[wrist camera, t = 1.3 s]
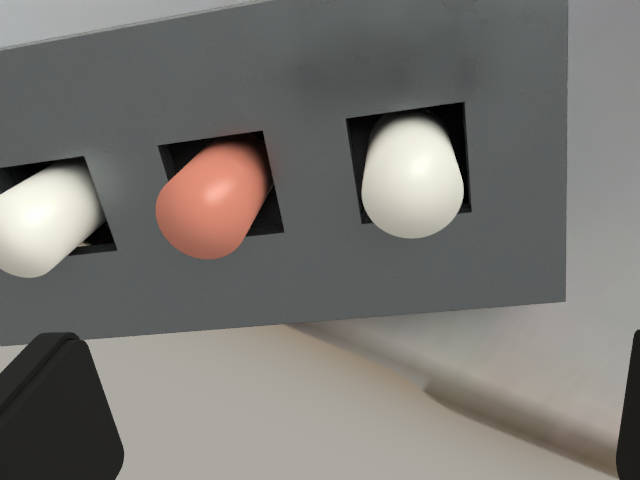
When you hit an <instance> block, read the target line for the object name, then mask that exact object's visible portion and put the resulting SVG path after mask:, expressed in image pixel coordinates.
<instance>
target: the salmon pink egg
mask: <svg viewBox="0 0 640 480" xmlns="http://www.w3.org/2000/svg"><path fill="white" fill-rule="evenodd" d="M273 185H274V181H273V176H272V171H271V167H270V162H269V157H268V153H267V148H266V143H265V142H264V141H262V140H261V139H260V138H258V137H257V136H255V135H253V134H251V133H241V134H234V135H227V136H220V137H215V138H214V139H213V140H212V141H211V142H209V143H208V144H207V145H206V146H205V147H204V148H203V149H202V150H201V151H200V152H199V153H198V154H197V155H196V156H195V157H194V158H193V159H192V160H191V161H190V162H189V163H188V164H187V165H185V166H184V167H183V168H182V169H181V170H180V171H179V172H178V173H177V174H176V175H175V176H174V177H173V178H172V179H171V180H170V181H169V182H168V183H167V184H166V185H165V186H164V187H163V188H162V190H161V191H160V193H159V195H158V198H157V202H156V219H157V223H158V225H159V228H160V230H161V232H162V234H163V235H164V236H165V238H166V239H167V240H168V241H169V243H170V244H172V245H173V246H174V247H175V248H176V249H178V250H179V251H181V252H182V253H184V254H186V255H189V256H191V257H194V258H199V259H217V258H221V257H224V256H226V255H228V254H230V253H232V252H233V251H234V250H235V249H237V248H238V246H239V245H240V244H241V242H242V241H243V239H244V237H245V236H246V234H247V232H248V230H249V228H250V227H251V225H252V223H253V221H254V219H255V217H256V216H257V214H258V212H259V210H260V208H261V207H262V205H263V203H264V201H265V199H266V198H267V196H268V194H269V192H270V190H271V189H272V187H273Z"/></svg>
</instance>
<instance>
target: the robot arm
mask: <svg viewBox="0 0 640 480" xmlns="http://www.w3.org/2000/svg"><path fill="white" fill-rule="evenodd" d="M123 460H124V449H123V445H122V442H121V440H120V437H119V434H118V431H117V428H116V425H115V422H114V419H113V417H112V414H111V411H110V408H109V405H108V402H107V399H106V396H105V394H104V390H103V388H102V385H101V382H100V379H99V376H98V373H97V370H96V368H95V364H94V362H93V359H92V356H91V353H90V350H89V347H88V345H87V343H86V342H85V341H83V340H80V339H79V337H78V336H77V335H76V334H75V333H72V332H50V333H41V334H39V335H38V336H36V337H35V338H34V339H33V340H32V341H31V342H30V343H29V344H28V345H27V346H26V347H25V349H23V350H22V351H21V353H20V354H19V355H18V356H17V357H16V358H15V359H14V360H13V361H12V362H11V363H10V364H9V365H8V366H7V367H6V368H5V369H4V370H3V371H2V372H1V373H0V480H115V479H116V477H117V475H118V474H119V472H120V470H121V468H122V464H123ZM616 465H617V472H618V476H619V479H620V480H640V330H637V331H636V332H635V334H634V338H633V345H632V351H631V358H630V365H629V372H628V379H627V385H626V392H625V399H624V406H623V412H622V419H621V426H620V433H619V439H618V446H617V453H616Z"/></svg>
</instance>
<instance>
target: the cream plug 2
mask: <svg viewBox="0 0 640 480" xmlns="http://www.w3.org/2000/svg"><path fill="white" fill-rule="evenodd" d="M463 194H464V187H463V180H462V177H461V174H460V170H459V167H458V164H457V161H456V157H455V154H454V151H453V148H452V145H451V141H450V138H449V135H448V132H447V129H446V127H445V125H444V123H443V122H442V120H441V119H440V118H439V117H438V116H437V115H436V114H435V113H433V112H432V111H430V110H428V109H426V108H416V109H409V110H402V111H395V112H388V113H385V114H384V115H383V116H382V117H381V118H380V119H379V120H378V121H377V122H376V124H375V125H374V127H373V129H372V131H371V134H370V138H369V143H368V150H367V157H366V163H365V170H364V176H363V183H362V201H363V205H364V208H365V211H366V212H367V214H368V216H369V217H370V219H371V220H372V221H373V222H374V223H375V225H376V226H378V227H379V228H380V229H382V230H383V231H385V232H386V233H389V234H391V235H393V236H397V237H401V238H409V239H413V238H422V237H426V236H430V235H432V234H434V233H437V232H438V231H440V230H442V229H443V228H444V227H446V226H447V225H448V224H449V223H450V222H451V221H452V220H453V219H454V217H455V216H456V214H457V213H458V211H459V209H460V207H461V204H462V200H463Z"/></svg>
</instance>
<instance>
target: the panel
mask: <svg viewBox="0 0 640 480" xmlns="http://www.w3.org/2000/svg"><path fill="white" fill-rule="evenodd" d="M567 64H568V0H257V1H252V2H247V3H241V4H236V5H230V6H225V7H220V8H214V9H209V10H203V11H198V12H193V13H187V14H182V15H176V16H171V17H166V18H160V19H155V20H149V21H144V22H139V23H133V24H128V25H122V26H117V27H112V28H106V29H101V30H96V31H90V32H85V33H79V34H74V35H69V36H63V37H58V38H52V39H47V40H42V41H36V42H31V43H25V44H20V45H15V46H9V47H4V48H0V194H2V193H4V192H5V191H7V190H9V189H11V188H12V187H14V186H16V185H17V184H19V183H21V182H23V181H24V180H26V179H28V178H29V177H31V174H30V172H29V169H28V167H27V164H31V163H38V162H45V161H52V160H59V159H66V158H73V157H80V156H84V157H85V160H86V162H87V165H88V168H89V171H90V174H91V176H92V179H93V182H94V185H95V188H96V191H97V193H98V196H99V199H100V202H101V205H102V208H103V210H104V213H105V216H106V219H107V222H108V225H109V227H110V230H111V233H112V236H113V239H114V242H115V243H108V244H99V245H90V246H81V247H76V248H75V249H74V250H73V251H72V252H70V253H69V254H68V255H67V256H66V257H65V258H64V259H63V260H61V261H60V262H59V263H58V264H57V265H56V266H55V267H54V268H52V269H51V270H50V271H49V272H47V273H46V274H44V275H42V276H39V277H34V278H24V277H18V276H15V275H11V274H9V273H7V272H5V271H3V270H1V269H0V345H1V346H11V345H24V344H29V343H30V342H31V341H32V340H33V339H34V338H35V337H36V336H38V335H39V334H41V333H50V332H72V333H75V334H76V335H77V336H78V337H79V339H80V340H87V339H99V338H112V337H125V336H138V335H150V334H163V333H175V332H188V331H201V330H213V329H226V328H239V327H252V326H264V325H277V324H290V323H302V322H315V321H327V320H340V319H353V318H365V317H378V316H391V315H403V314H416V313H429V312H441V311H454V310H467V309H479V308H492V307H504V306H517V305H530V304H542V303H555V302H566V184H567ZM458 102H462V105H463V120H464V135H465V150H466V164H467V179H468V194H469V203H467V204H461V207H460V209H459V211H458V213H457V214H456V216H455V217H454V219H453V220H452V221H451V222H450V223H449V224H448V225H447V226H446V227H444V228H443V229H442V230H440V231H438V232H437V233H434V234H432V235H430V236H426V237H422V238H413V239H409V238H401V237H397V236H393V235H391V234H389V233H386V232H385V231H383V230H382V229H380V228H379V227H378V226H376V225H375V223H374V222H373V221H372V220H371V219H370V217H369V216H368V215H363V213H362V207H361V200H360V193H359V187H358V180H357V174H356V167H355V160H354V154H353V147H352V141H351V134H350V127H349V121H348V118H353V117H360V116H367V115H374V114H381V113H388V112H395V111H402V110H409V109H416V108H423V107H430V106H437V105H444V104H451V103H458ZM262 130H263V134H264V139H265V143H266V148H267V153H268V157H269V162H270V167H271V171H272V176H273V181H274V185H275V190H276V194H277V199H278V204H279V208H280V213H281V218H282V222H283V224H279V225H270V226H261V227H252V228H249V230H248V232H247V234H246V236H245V237H244V239H243V241H242V242H241V244H240V245H239V246H238V248H237V249H235V250H234V251H233V252H232V253H230V254H228V255H226V256H224V257H221V258H217V259H199V258H194V257H191V256H189V255H186V254H184V253H182V252H181V251H179V250H178V249H176V248H175V247H174V246H173V245H172V244H170V243H169V241H168V240H167V239H166V238H165V236H164V235H163V234H162V232H161V230H160V228H159V225H158V223H157V219H156V202H157V198H158V195H159V193H160V191H161V190H162V188H163V187H164V186H165V185H166V184H167V183H168V182H169V181H170V180H171V179H172V178H173V177H174V176H175V175H176V172H175V168H174V165H173V161H172V158H171V154H170V151H169V148H168V144H171V143H178V142H185V141H192V140H199V139H206V138H213V137H220V136H227V135H234V134H241V133H248V132H255V131H262Z"/></svg>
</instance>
